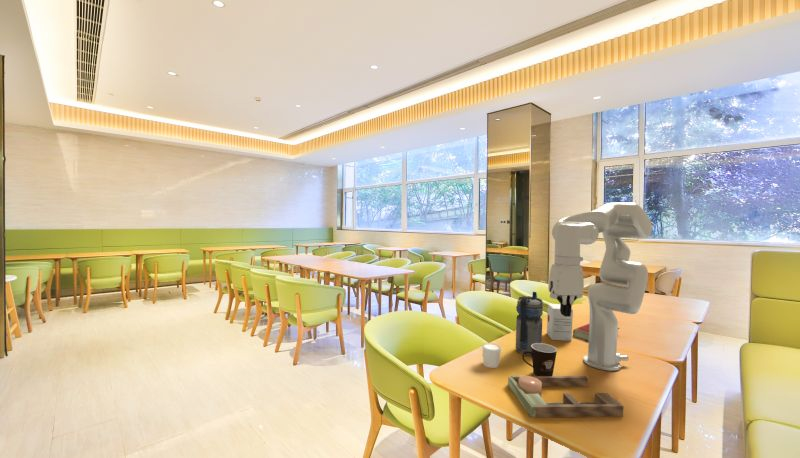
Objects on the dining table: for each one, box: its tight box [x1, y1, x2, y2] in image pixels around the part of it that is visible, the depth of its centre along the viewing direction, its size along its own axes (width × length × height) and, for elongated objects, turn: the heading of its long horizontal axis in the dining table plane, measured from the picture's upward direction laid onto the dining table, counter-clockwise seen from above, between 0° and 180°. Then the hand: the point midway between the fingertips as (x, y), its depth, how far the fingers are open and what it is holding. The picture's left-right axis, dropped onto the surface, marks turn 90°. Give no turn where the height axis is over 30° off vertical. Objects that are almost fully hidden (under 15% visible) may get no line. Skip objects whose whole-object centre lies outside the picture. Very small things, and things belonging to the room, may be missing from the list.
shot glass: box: [481, 343, 502, 369], centre depth 132 cm, size 7×7×7 cm
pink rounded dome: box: [518, 375, 543, 398], centre depth 110 cm, size 7×7×4 cm
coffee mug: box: [521, 343, 558, 376], centre depth 124 cm, size 12×9×10 cm
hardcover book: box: [572, 323, 620, 341], centre depth 166 cm, size 12×21×4 cm, turn 126°
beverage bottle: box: [515, 291, 544, 357], centre depth 143 cm, size 10×13×25 cm
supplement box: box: [546, 303, 574, 342], centre depth 163 cm, size 9×9×15 cm
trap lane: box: [507, 374, 625, 418], centre depth 108 cm, size 27×18×3 cm
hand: (565, 315), depth 114 cm, fingers closed
